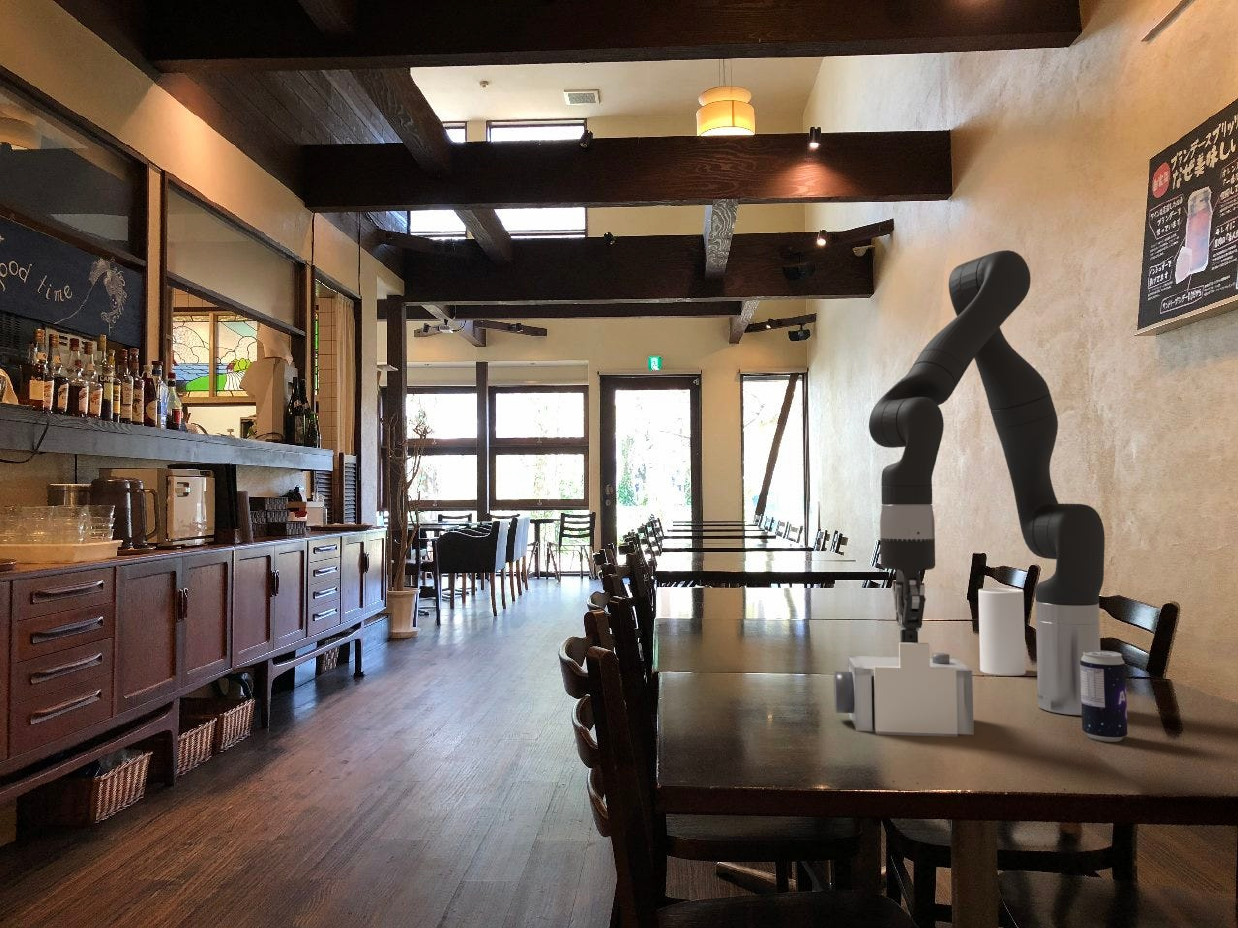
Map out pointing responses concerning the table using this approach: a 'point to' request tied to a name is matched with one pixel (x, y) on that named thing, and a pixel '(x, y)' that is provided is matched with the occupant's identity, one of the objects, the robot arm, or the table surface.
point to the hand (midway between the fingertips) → (909, 656)
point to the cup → (1002, 631)
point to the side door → (915, 695)
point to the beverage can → (1103, 695)
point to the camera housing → (859, 690)
